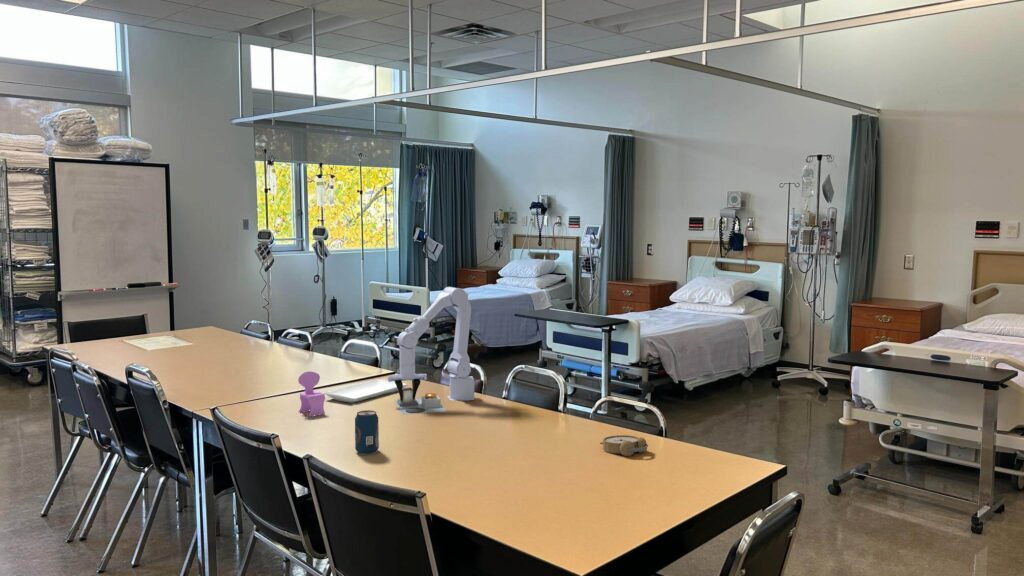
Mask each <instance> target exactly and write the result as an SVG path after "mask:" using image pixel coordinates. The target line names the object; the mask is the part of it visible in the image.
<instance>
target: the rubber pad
mask: <svg viewBox="0 0 1024 576" xmlns="http://www.w3.org/2000/svg"><path fill="white" fill-rule="evenodd" d="M424 411H425V409H423V408H408V409H406V412H408V413H418V414H422V413H421V412H424Z"/></svg>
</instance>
